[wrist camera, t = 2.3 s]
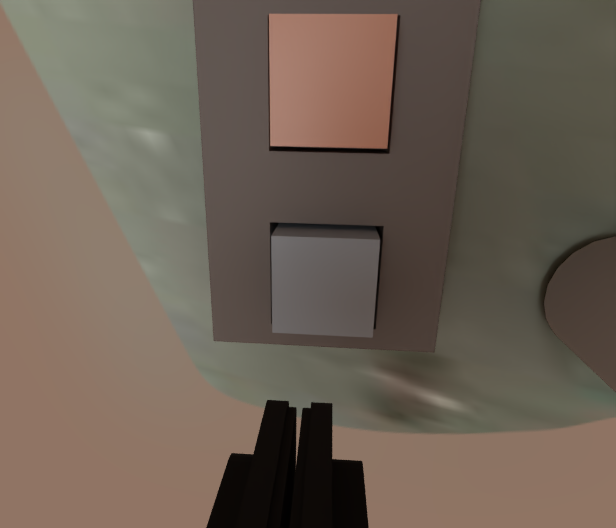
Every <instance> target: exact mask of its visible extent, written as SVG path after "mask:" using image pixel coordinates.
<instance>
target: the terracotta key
mask: <svg viewBox="0 0 616 528" xmlns="http://www.w3.org/2000/svg"><path fill="white" fill-rule="evenodd" d="M397 15H398V14H269V67H270V146H293V147H337V148H382V149H387V145H388V132H389V119H390V106H391V93H392V80H393V67H394V54H395V41H396V28H397Z"/></svg>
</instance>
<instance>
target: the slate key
mask: <svg viewBox="0 0 616 528" xmlns="http://www.w3.org/2000/svg"><path fill="white" fill-rule="evenodd" d="M379 249H380V238H379V235H378V232H377V230H376V227H375V226H368V225H338V224H308V223H279V224H278V226H277V227H276V229H275V231H274V232H273V234H272V235H271V260H272V333H289V334H309V335H329V336H349V337H369V338H373V328H374V315H375V302H376V288H377V275H378V262H379Z"/></svg>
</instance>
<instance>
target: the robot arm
mask: <svg viewBox="0 0 616 528" xmlns="http://www.w3.org/2000/svg"><path fill="white" fill-rule="evenodd" d="M206 528H368V518H367V506H366V495H365V484H364V473H363V464H362V461H352V460H336V459H332V403H314V402H311V408H303V410H302V419H301V428H300V437H299V447H298V456H297V464H296V407H289V402H288V401H276V400H267V403H266V406H265V410H264V415H263V418H262V422H261V426H260V430H259V434H258V438H257V443H256V446H255V451H254V454H253V455H251V454H235V453H232V454H231V455H230V457H229V460H228V463H227V466H226V469H225V472H224V475H223V478H222V481H221V484H220V487H219V490H218V494H217V497H216V500H215V503H214V506H213V509H212V512H211V515H210V518H209V521H208V524H207V527H206Z"/></svg>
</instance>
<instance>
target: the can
mask: <svg viewBox="0 0 616 528" xmlns="http://www.w3.org/2000/svg"><path fill="white" fill-rule="evenodd" d="M544 307H545V314H546V320H547V322H548V323H549V325H550V327H551V329H552V330H553V332H554V334H555V335H556V336H557V337H558V338H559V339H560V340H561V341H562V342H564V343H565V344H566V345H567V346H568V347H569V348H570V349H571V350H572V351H573V352H574V353H575V354H576V355H577V356H578V357H579V358H580V359H581V360H582V361H583V362H584V363H585V364H587V365H588V366H589V367H590V368H591V369H592V370H593V371H594V372H595V373H596V374H597V375H598V376H599V377H600V378H601V379H602V380H603V381H604V382H605V383H606V384H607V385H609V386H610V387H611V388H612V389H613V390H614V391H615V392H616V236H615V237H611V238H607V239H603V240H599V241H595V242H592V243H590V244H589V245H587V246H585V247H583V248H581V249H579V250H578V251H576V252H574V253H573V254H572V255H571V256H570V257H569V258H568V259H566V260H565V261H564V262H563V263H562V264H561V265H560V266H559V267H558V268H557V270H556V272H555V273H554V275H553V277H552V279H551V280H550V282H549V284H548V286H547V291H546V295H545V300H544Z"/></svg>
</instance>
